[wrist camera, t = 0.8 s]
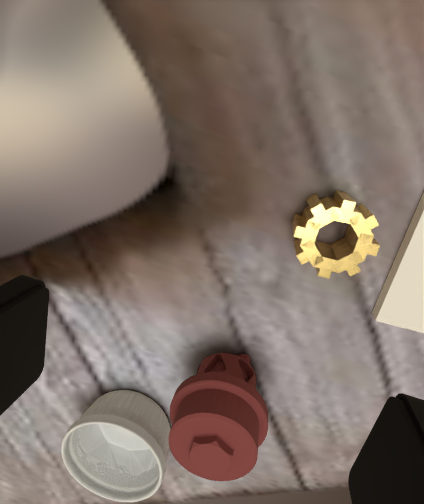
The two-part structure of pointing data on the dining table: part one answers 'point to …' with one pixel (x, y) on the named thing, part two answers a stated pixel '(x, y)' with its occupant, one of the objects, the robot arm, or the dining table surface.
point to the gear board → (405, 280)
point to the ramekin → (119, 446)
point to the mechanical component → (218, 419)
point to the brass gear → (344, 250)
